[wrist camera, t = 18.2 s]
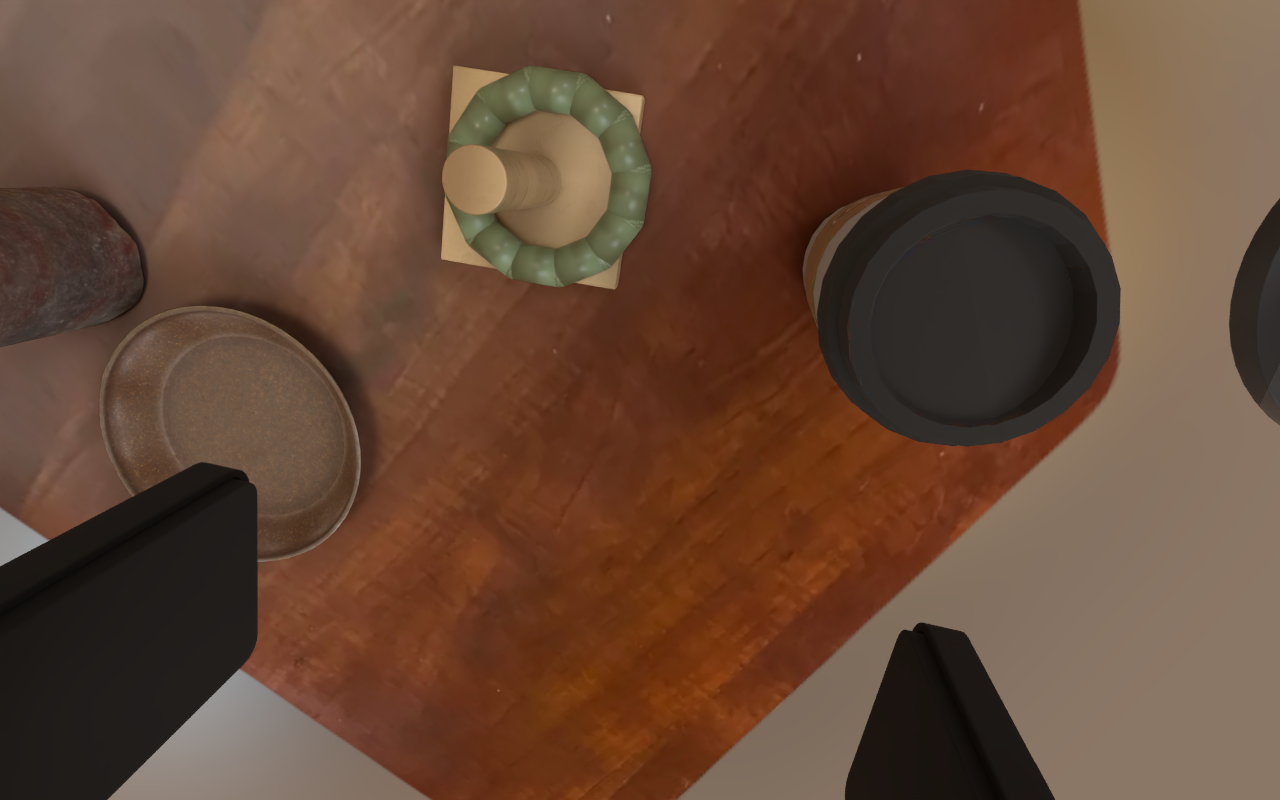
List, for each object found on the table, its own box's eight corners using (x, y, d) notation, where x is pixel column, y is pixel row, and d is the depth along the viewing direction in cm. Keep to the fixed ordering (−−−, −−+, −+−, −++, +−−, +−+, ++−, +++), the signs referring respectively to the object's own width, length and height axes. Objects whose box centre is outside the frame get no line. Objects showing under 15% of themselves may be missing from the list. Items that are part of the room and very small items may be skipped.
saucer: (369, 304, 37) (342, 313, 34) (392, 548, 41) (370, 573, 39) (114, 292, 38) (70, 300, 35) (163, 530, 43) (128, 552, 40)
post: (645, 97, 32) (615, 61, 23) (617, 287, 35) (581, 325, 26) (460, 68, 33) (355, 20, 23) (447, 257, 35) (349, 283, 26)
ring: (665, 88, 31) (663, 82, 29) (634, 296, 34) (630, 302, 32) (461, 56, 32) (446, 49, 30) (447, 264, 35) (434, 269, 33)
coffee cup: (940, 151, 32) (1124, 123, 17) (971, 323, 34) (1158, 424, 19) (762, 206, 33) (797, 222, 19) (802, 367, 35) (861, 491, 21)
